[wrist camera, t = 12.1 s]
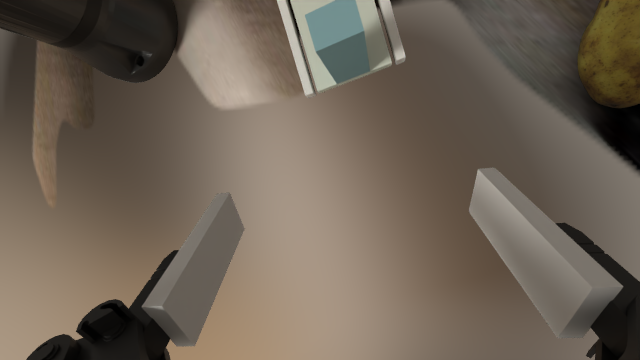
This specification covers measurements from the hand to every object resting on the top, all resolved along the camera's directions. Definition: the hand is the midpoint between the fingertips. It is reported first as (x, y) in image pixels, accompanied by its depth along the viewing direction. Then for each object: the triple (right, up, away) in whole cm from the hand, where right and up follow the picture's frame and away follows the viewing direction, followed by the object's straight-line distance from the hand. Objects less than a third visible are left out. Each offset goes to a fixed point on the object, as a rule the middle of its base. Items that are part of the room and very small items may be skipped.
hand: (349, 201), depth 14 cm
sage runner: (-1, +25, +16) cm, 29 cm away
